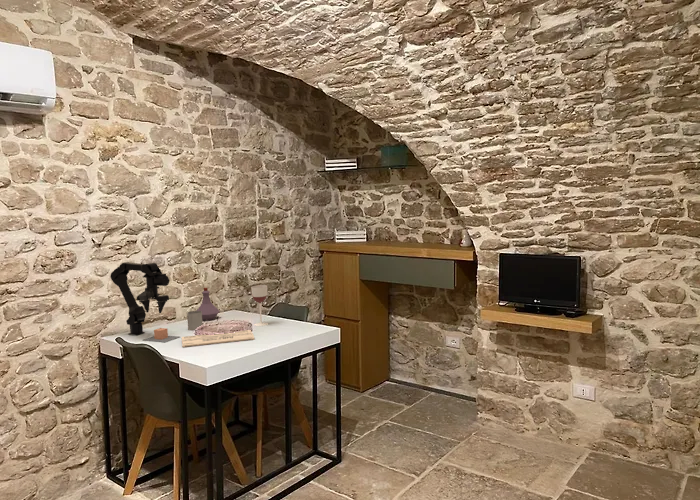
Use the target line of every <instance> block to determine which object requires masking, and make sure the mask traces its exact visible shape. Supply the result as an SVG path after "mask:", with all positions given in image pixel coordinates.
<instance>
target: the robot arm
mask: <svg viewBox="0 0 700 500" xmlns="http://www.w3.org/2000/svg"><path fill="white" fill-rule="evenodd" d="M130 271H135V272H141V273H143V274H144V275H142V278H144V279H145V282H146V283H145V284H146V285H145V286H146V287H145V288H144V291H142V292H141V293H140V294H137V296H136V299H135V297H134V295H133V293H132V290H131V288H130V286H129V283H128V280H129V279H128V274H129V273H130ZM109 277H110V279H111V281H112V283H113V284H114V285H116V286H117V287H118V288H119V290H120V292H121V294H122V296H123V299H124V300H125V302H126V305H127V307H128V316H129V317H128V318H127V319H126V325H128V326H129V333H128V335H131V336H138V335H142V334H145V333H146V331H144V328H143V323H145V321H146V320H145V319H146V315H147V314H146V313H149V311H150V301H151V300H156V302H155V303H156V304H157V307H158V308H157V309H158V312H159V314H162V312H163V309H164V307H165V305H166V302H168V301H169V300H170V296H169V295H168V294H161V295H160V293H159V292H158V289H160V287H161V286H162V287H163V286H164V287H167V286H168V285H169V284H170V278H169V276H167V273H163V272H162V270H161V269H160V267H159V266H158V264H157V263H156V262H149V263H148V262H147V263H137V262H135V263H134V262H129V261H128V262H126V261H125V262H121V263H120V265H119V266H118V267H116V268H115V269H114V270H113V271H111V273H110V275H109ZM137 302H138V303H141V304H142V305H138V303H137Z"/></svg>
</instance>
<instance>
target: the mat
mask: <svg viewBox="0 0 700 500" xmlns="http://www.w3.org/2000/svg"><path fill="white" fill-rule="evenodd" d="M176 339H180V336H175V335H168V338H165V339H162V340H160V339H154V335H152V336H150V337H147V338H143V339H142V341H145V342H156V343H168V342H171V341H173V340H176Z"/></svg>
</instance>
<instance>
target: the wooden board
mask: <svg viewBox="0 0 700 500" xmlns="http://www.w3.org/2000/svg"><path fill="white" fill-rule="evenodd" d="M238 331H239V332H235V331H234V332H235V333H225V332H223V333H224V334H215V333H213V334H214V335H206V334H207V333H206V334H197V335H196V334H195V335H188V336H181V342H182V344H181V346H182V348H187V347H198V346H207V345H208V346H209V345H216V344H218V345H219V344H226V343H234V342H244V341H252V340H253V341H254V340H255V335H254V334H253V331H252V330H251V329H247V330H246V329H245V330H238Z"/></svg>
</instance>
